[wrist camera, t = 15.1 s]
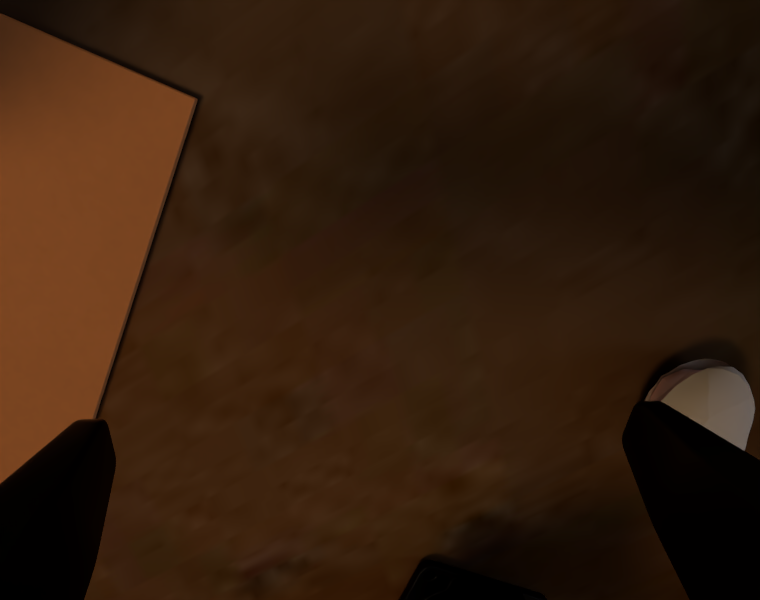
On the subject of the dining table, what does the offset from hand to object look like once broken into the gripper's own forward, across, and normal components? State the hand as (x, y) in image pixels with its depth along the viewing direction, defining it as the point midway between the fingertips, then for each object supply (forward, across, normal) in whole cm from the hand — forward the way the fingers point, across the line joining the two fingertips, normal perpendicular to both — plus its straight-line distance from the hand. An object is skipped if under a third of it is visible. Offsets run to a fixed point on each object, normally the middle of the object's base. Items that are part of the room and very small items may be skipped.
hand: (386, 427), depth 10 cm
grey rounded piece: (+9, -14, +8) cm, 19 cm away
